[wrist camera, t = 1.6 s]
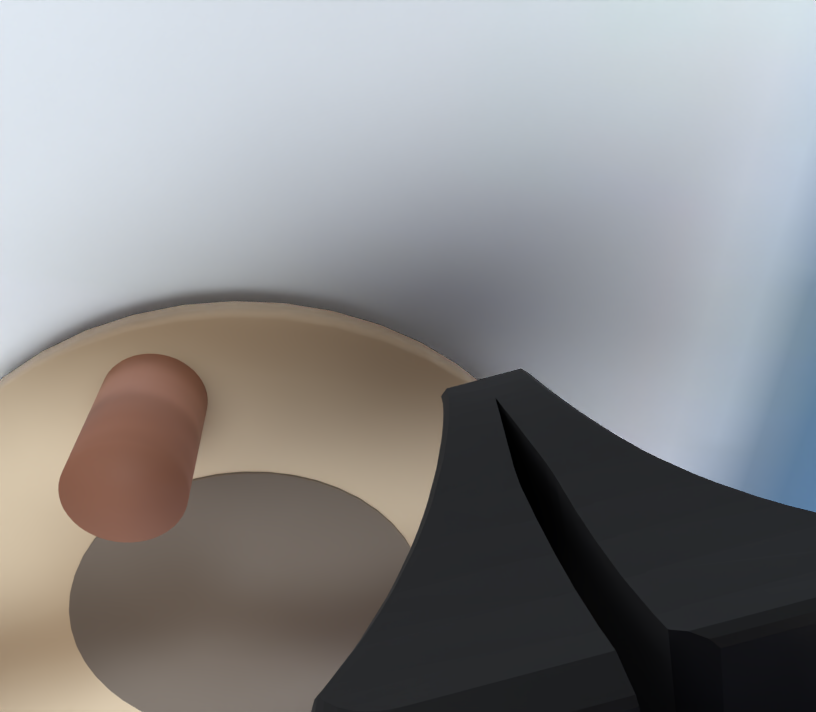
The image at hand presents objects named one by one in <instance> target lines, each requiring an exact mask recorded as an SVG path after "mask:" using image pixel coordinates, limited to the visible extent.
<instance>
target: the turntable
mask: <svg viewBox="0 0 816 712" xmlns="http://www.w3.org/2000/svg"><path fill="white" fill-rule="evenodd" d="M473 381H477V380H476V379H475V378H474V377H473V376H471V375H470V374H469V373H468V372H467V371H465V370H464V369H463V368H462V367H460V366H459V365H458V364H456V363H454V362H453V361H451V360H449V359H448V358H446V357H444V356H443V355H441V354H439V353H438V352H436V351H434V350H433V349H431V348H429V347H428V346H426V345H424V344H423V343H421V342H419V341H416V340H414V339H412V338H410V337H407V336H405V335H403V334H400V333H398V332H396V331H393V330H391V329H389V328H386V327H384V326H382V325H379V324H376V323H373V322H369V321H366V320H362V319H359V318H355V317H352V316H348V315H345V314H342V313H338V312H335V311H330V310H324V309H317V308H311V307H305V306H299V305H293V304H286V303H270V302H245V301H227V302H214V303H201V304H188V305H180V306H174V307H169V308H164V309H159V310H154V311H149V312H144V313H139V314H134V315H131V316H128V317H125V318H122V319H119V320H116V321H113V322H110V323H107V324H104V325H101V326H98V327H95V328H92V329H89V330H86V331H83V332H81V333H79V334H77V335H75V336H73V337H71V338H69V339H67V340H65V341H63V342H61V343H59V344H57V345H55V346H52V347H50V348H48V349H46V350H44V351H42V352H41V353H39V354H38V355H36V356H35V357H33V358H32V359H30V360H29V361H27V362H26V363H24V364H23V365H21V366H20V367H18V368H17V369H15V370H14V371H12V372H11V373H9V374H8V375H6V376H5V377H3V378H2V379H1V380H0V712H311V710H312V706H313V702H314V699H315V698H316V697H317V695H318V694H319V693H320V692H321V691H322V690H323V688H324V687H325V686H326V685H327V683H328V682H329V681H330V679H331V678H332V677H333V676H334V674H335V673H336V672H337V670H338V669H339V668H340V666H341V665H342V664H343V663H344V661H345V660H346V659H347V657H348V656H349V655H350V653H351V652H352V651H353V649H354V648H355V646H356V645H357V644H358V642H359V641H360V639H361V638H362V636H363V634H364V633H365V631H366V630H367V628H368V626H369V625H370V623H371V622H372V620H373V618H374V617H375V615H376V613H377V612H378V610H379V609H380V607H381V605H382V604H383V602H384V601H385V599H386V597H387V595H388V594H389V592H390V590H391V588H392V586H393V584H394V582H395V580H396V578H397V576H398V574H399V572H400V570H401V568H402V566H403V564H404V561H405V559H406V557H407V555H408V553H409V551H410V549H411V546H412V544H413V541H414V539H415V536H416V534H417V531H418V529H419V526H420V523H421V520H422V517H423V514H424V511H425V508H426V505H427V502H428V498H429V494H430V491H431V487H432V483H433V480H434V476H435V472H436V467H437V462H438V456H439V450H440V445H441V439H442V429H443V402H442V398H441V396H442V394H443V393H444V391H445V390H446V388H450V387H454V386H458V385H461V384H465V383H469V382H473Z"/></svg>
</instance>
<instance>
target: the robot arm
mask: <svg viewBox="0 0 816 712" xmlns="http://www.w3.org/2000/svg"><path fill="white" fill-rule="evenodd" d="M441 398H442V402H443V429H442V439H441V445H440V450H439V456H438V462H437V467H436V472H435V476H434V480H433V483H432V487H431V491H430V494H429V498H428V502H427V505H426V508H425V511H424V514H423V517H422V520H421V523H420V526H419V529H418V531H417V534H416V536H415V539H414V541H413V544H412V546H411V549H410V551H409V553H408V555H407V557H406V559H405V561H404V564H403V566H402V568H401V570H400V572H399V574H398V576H397V578H396V580H395V582H394V584H393V586H392V588H391V590H390V592H389V594H388V595H387V597H386V599H385V601H384V602H383V604H382V605H381V607H380V609H379V610H378V612H377V613H376V615H375V617H374V618H373V620H372V622H371V623H370V625H369V626H368V628H367V630H366V631H365V633H364V634H363V636H362V638H361V639H360V641H359V642H358V644H357V645H356V646H355V648H354V649H353V651H352V652H351V653H350V655H349V656H348V657H347V659H346V660H345V661H344V663H343V664H342V665H341V666H340V668H339V669H338V670H337V672H336V673H335V674H334V676H333V677H332V678H331V679H330V681H329V682H328V683H327V685H326V686H325V687H324V688H323V690H322V691H321V692H320V693H319V694H318V695H317V697H316V698H315V699H314V702H313V706H312V710H311V712H816V512H812V511H808V510H804V509H800V508H796V507H792V506H788V505H784V504H781V503H777V502H774V501H770V500H767V499H764V498H760V497H757V496H754V495H751V494H748V493H745V492H742V491H739V490H736V489H733V488H731V487H728V486H725V485H722V484H719V483H716V482H713V481H711V480H708V479H706V478H703V477H701V476H698V475H695V474H693V473H691V472H689V471H686V470H684V469H682V468H680V467H677V466H675V465H673V464H671V463H668V462H666V461H664V460H662V459H659V458H657V457H655V456H653V455H651V454H649V453H647V452H645V451H643V450H641V449H640V448H638V447H636V446H634V445H633V444H631V443H629V442H627V441H625V440H624V439H622V438H620V437H618V436H617V435H615V434H614V433H612V432H610V431H609V430H607V429H605V428H604V427H602V426H601V425H599V424H598V423H596V422H595V421H593V420H592V419H590V418H589V417H587V416H586V415H584V414H583V413H581V412H579V411H578V410H577V409H575V408H574V407H572V406H571V405H570V404H568V403H567V402H565V401H564V400H563V399H561V398H560V397H559V396H557V395H556V394H555V393H553V392H552V391H551V390H549V389H548V388H547V387H545V386H544V385H543V384H542V383H540V382H539V381H538V380H537V379H535V378H534V377H533V376H532V375H530V374H529V373H527V372H526V371H524V370H523V369H518V370H514V371H511V372H507V373H503V374H499V375H495V376H492V377H488V378H484V379H480V380H477V381H473V382H469V383H465V384H461V385H458V386H454V387H450V388H446V390H445V391H444V393H443V394H442V396H441Z"/></svg>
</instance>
